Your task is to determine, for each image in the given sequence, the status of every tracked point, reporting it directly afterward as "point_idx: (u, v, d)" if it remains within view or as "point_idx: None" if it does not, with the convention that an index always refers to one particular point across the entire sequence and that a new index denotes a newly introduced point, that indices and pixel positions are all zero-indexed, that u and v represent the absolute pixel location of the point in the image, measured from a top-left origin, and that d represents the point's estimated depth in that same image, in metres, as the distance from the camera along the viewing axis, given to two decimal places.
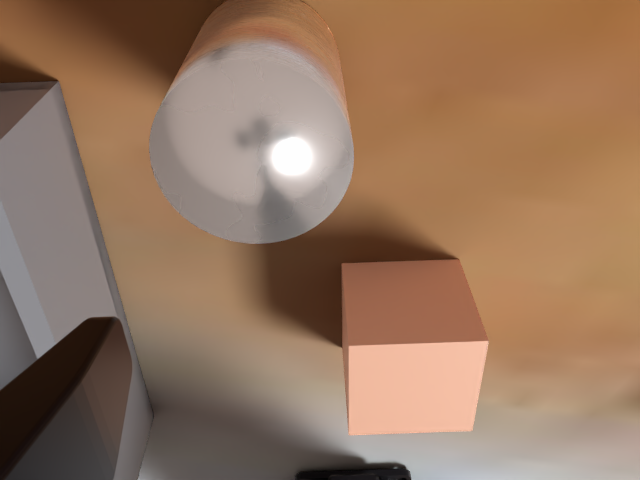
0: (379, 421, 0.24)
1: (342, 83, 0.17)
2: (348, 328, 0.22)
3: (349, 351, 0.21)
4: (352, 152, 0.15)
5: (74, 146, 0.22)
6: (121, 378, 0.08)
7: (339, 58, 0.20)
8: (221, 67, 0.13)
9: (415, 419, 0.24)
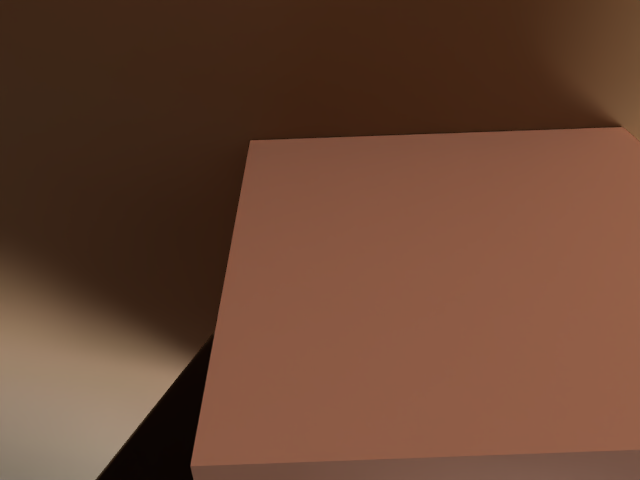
0: None
1: None
2: (214, 363, 0.05)
3: None
4: None
5: None
6: None
7: None
8: None
9: None
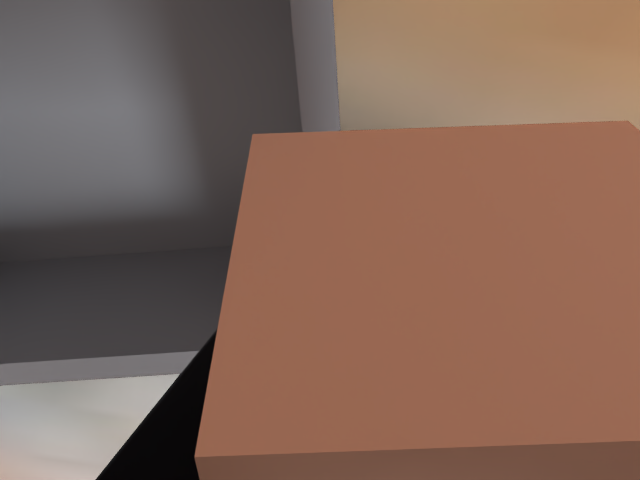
0: None
1: None
2: (218, 354, 0.04)
3: None
4: None
5: None
6: None
7: None
8: None
9: None
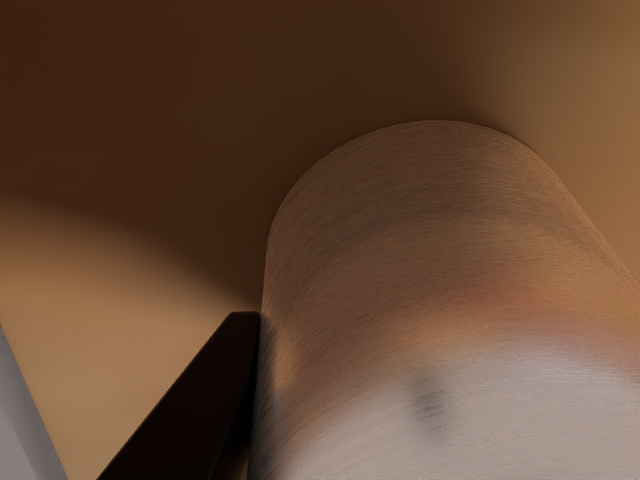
0: None
1: None
2: None
3: None
4: None
5: (22, 398, 0.11)
6: None
7: None
8: None
9: None
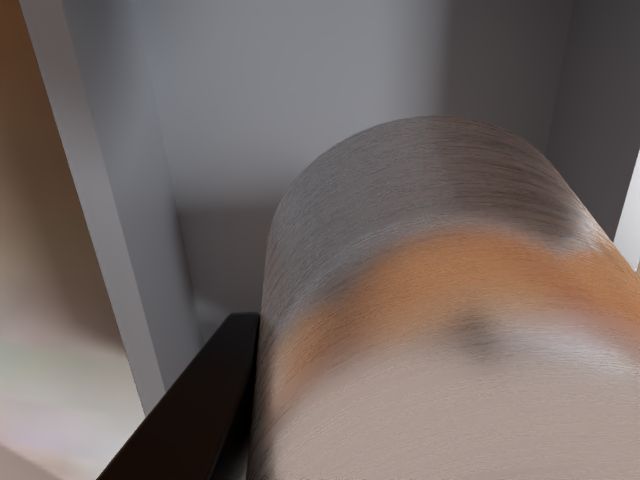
0: None
1: None
2: None
3: None
4: None
5: None
6: None
7: None
8: None
9: None
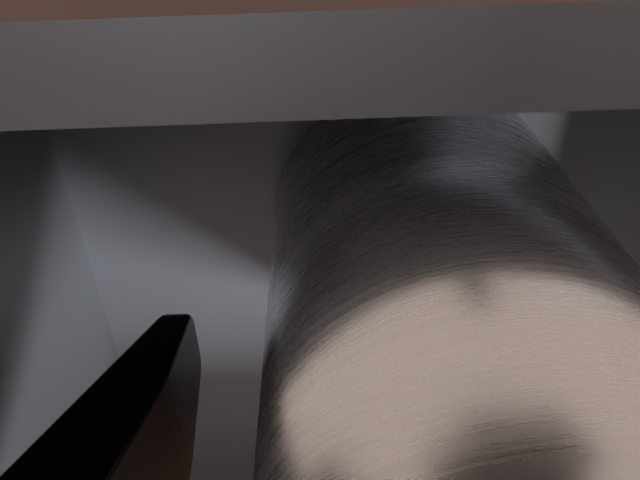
0: None
1: None
2: None
3: None
4: None
5: None
6: (194, 375, 0.08)
7: None
8: (505, 475, 0.04)
9: None
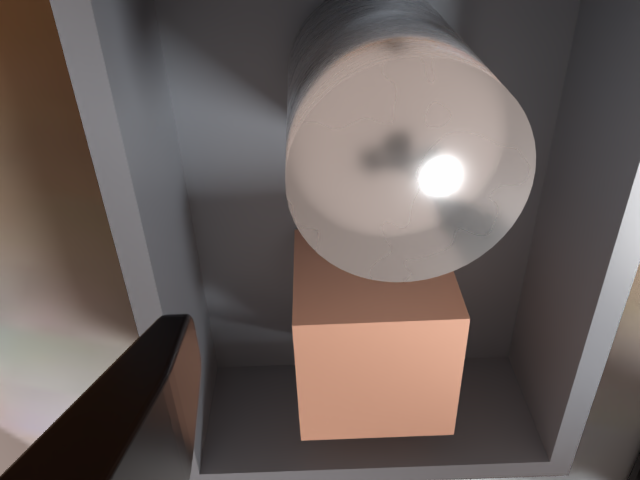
0: (337, 423, 0.19)
1: None
2: (294, 305, 0.17)
3: (293, 333, 0.17)
4: (534, 165, 0.12)
5: None
6: (194, 375, 0.08)
7: None
8: (383, 68, 0.11)
9: (382, 420, 0.19)
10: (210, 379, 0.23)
